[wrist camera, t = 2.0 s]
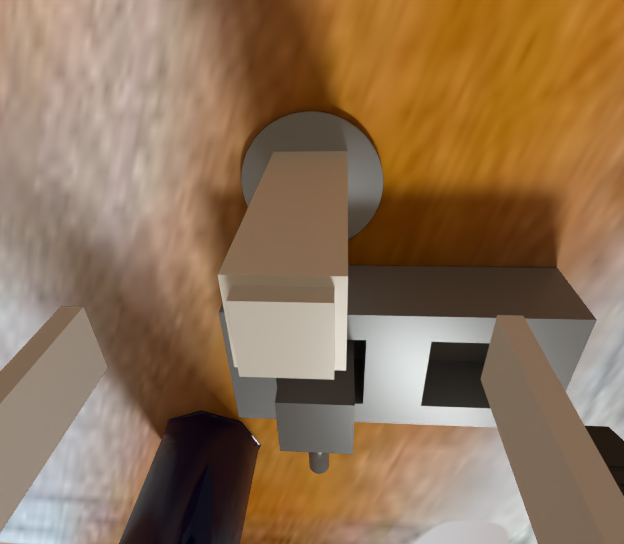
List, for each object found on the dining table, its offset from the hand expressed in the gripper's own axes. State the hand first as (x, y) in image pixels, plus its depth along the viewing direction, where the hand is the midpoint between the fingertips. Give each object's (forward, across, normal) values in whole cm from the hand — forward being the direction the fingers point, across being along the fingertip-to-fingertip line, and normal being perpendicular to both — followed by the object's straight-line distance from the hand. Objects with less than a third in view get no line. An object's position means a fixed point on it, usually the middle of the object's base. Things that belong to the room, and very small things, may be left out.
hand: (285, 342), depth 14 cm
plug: (+12, 0, +1) cm, 12 cm away
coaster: (+13, 0, +1) cm, 13 cm away
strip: (+13, +5, -9) cm, 17 cm away
